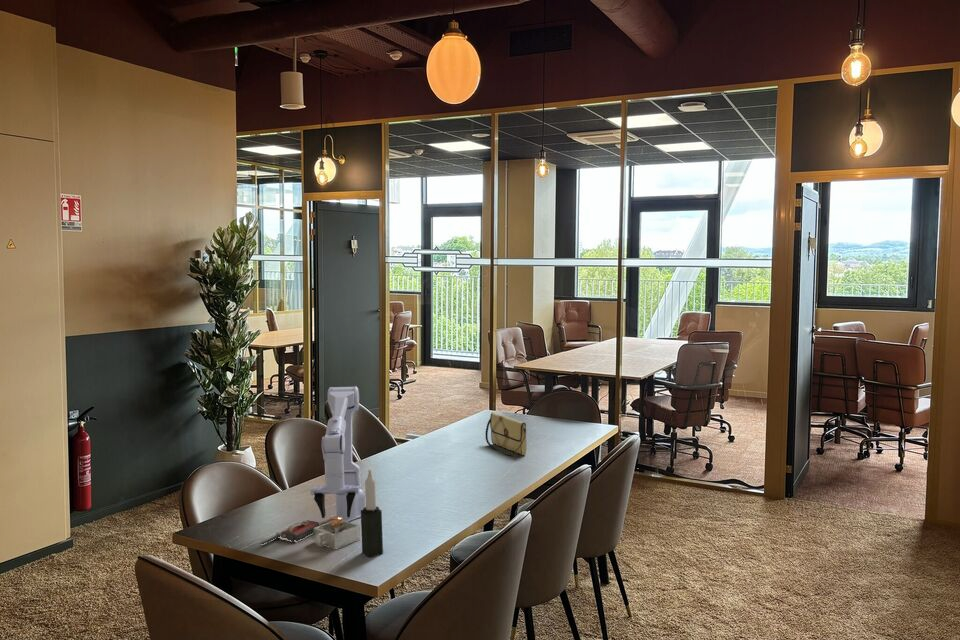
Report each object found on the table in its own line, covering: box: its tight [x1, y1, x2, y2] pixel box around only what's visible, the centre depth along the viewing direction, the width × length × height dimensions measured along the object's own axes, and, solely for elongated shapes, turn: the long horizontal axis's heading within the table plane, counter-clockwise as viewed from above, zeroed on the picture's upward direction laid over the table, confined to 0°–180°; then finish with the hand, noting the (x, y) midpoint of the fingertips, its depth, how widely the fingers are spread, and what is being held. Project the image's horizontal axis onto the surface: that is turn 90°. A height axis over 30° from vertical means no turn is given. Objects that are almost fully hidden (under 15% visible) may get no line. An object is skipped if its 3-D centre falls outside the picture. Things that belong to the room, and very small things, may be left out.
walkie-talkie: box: [259, 519, 320, 545], centre depth 230 cm, size 9×4×20 cm
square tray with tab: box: [312, 520, 361, 550], centre depth 226 cm, size 12×10×4 cm
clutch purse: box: [485, 412, 527, 456], centre depth 331 cm, size 30×7×15 cm, turn 30°
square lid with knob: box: [329, 515, 343, 534], centre depth 227 cm, size 8×8×7 cm
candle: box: [360, 469, 384, 558], centre depth 216 cm, size 5×5×25 cm
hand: (336, 516), depth 226 cm, fingers open, 7 cm apart
